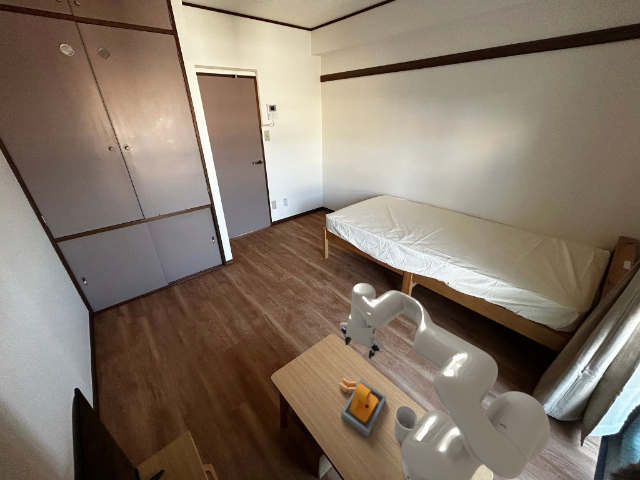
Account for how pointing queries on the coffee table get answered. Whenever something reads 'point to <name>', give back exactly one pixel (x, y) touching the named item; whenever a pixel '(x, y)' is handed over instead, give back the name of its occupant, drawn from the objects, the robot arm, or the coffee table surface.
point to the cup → (404, 421)
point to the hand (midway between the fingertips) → (359, 349)
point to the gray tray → (370, 423)
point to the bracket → (363, 403)
